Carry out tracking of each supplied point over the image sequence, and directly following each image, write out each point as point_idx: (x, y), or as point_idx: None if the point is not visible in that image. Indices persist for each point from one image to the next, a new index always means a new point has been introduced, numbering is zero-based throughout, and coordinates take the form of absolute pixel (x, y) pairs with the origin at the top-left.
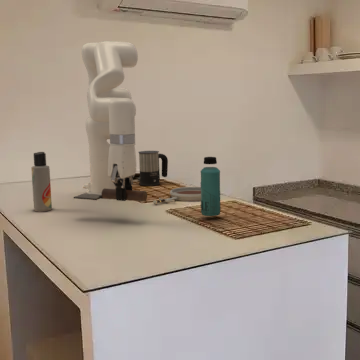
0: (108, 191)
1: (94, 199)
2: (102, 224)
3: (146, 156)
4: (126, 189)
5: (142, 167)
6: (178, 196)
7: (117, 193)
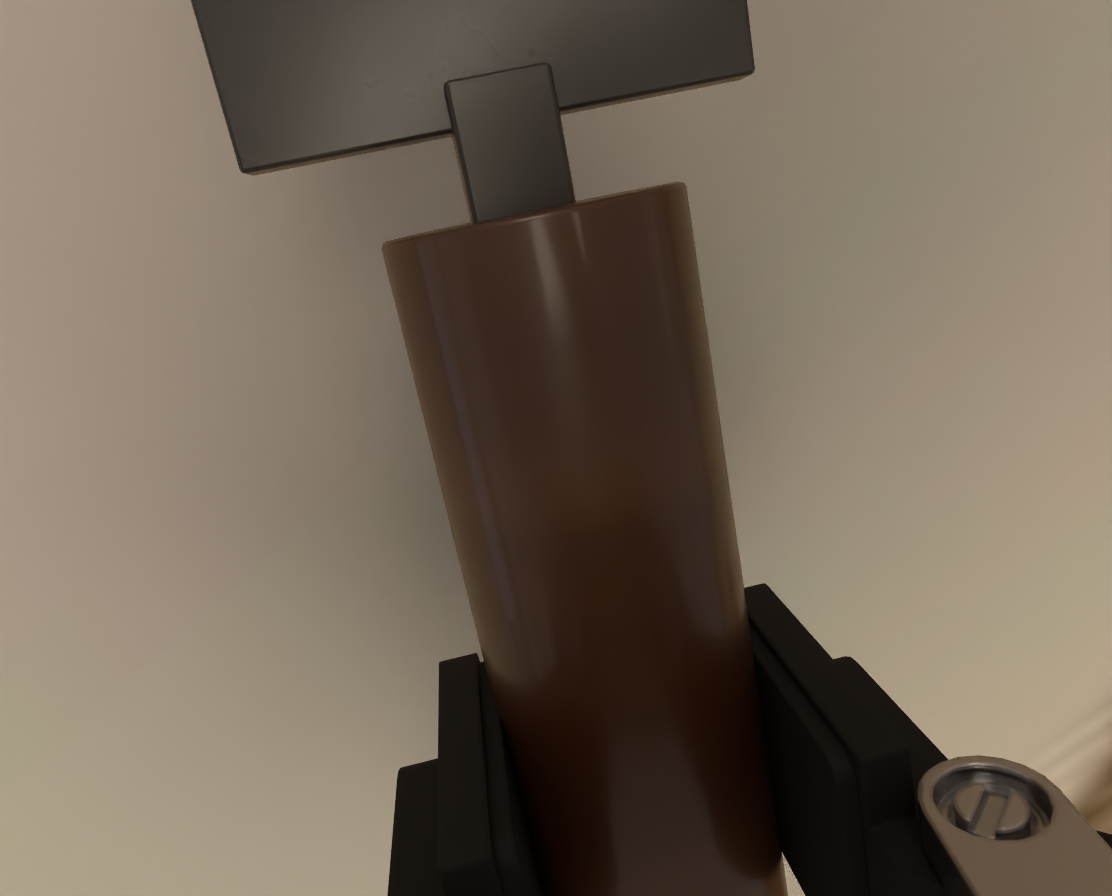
0: (465, 471)
1: (232, 115)
2: (275, 360)
3: None
4: (802, 812)
5: None
6: None
7: (392, 844)
